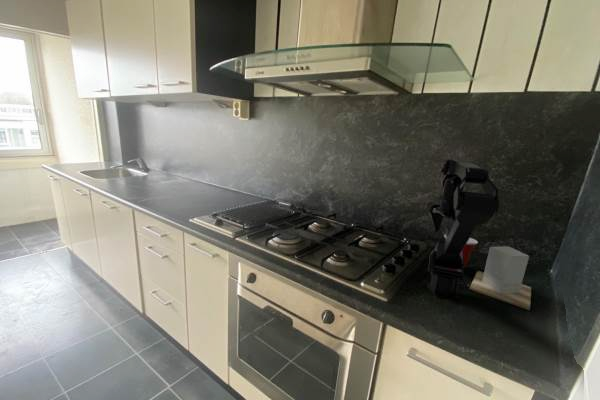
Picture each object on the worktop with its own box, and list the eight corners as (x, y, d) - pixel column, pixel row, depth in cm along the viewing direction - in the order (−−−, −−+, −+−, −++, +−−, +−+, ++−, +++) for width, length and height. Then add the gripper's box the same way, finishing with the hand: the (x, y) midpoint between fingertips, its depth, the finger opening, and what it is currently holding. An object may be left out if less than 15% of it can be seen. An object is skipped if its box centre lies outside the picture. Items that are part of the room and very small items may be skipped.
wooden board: (529, 310, 78) (530, 307, 78) (469, 288, 87) (469, 286, 87) (530, 289, 89) (531, 287, 89) (477, 272, 98) (477, 270, 98)
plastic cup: (470, 265, 104) (476, 236, 101) (472, 278, 94) (480, 245, 92) (438, 258, 109) (444, 229, 106) (438, 269, 99) (444, 238, 96)
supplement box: (520, 293, 85) (530, 255, 82) (499, 293, 84) (509, 256, 81) (500, 280, 92) (509, 245, 89) (480, 281, 91) (489, 246, 88)
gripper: (496, 206, 79) (483, 252, 85) (461, 186, 97) (452, 226, 102) (458, 206, 79) (447, 252, 85) (430, 186, 97) (422, 225, 102)
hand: (442, 237), depth 94 cm, fingers open, 9 cm apart
